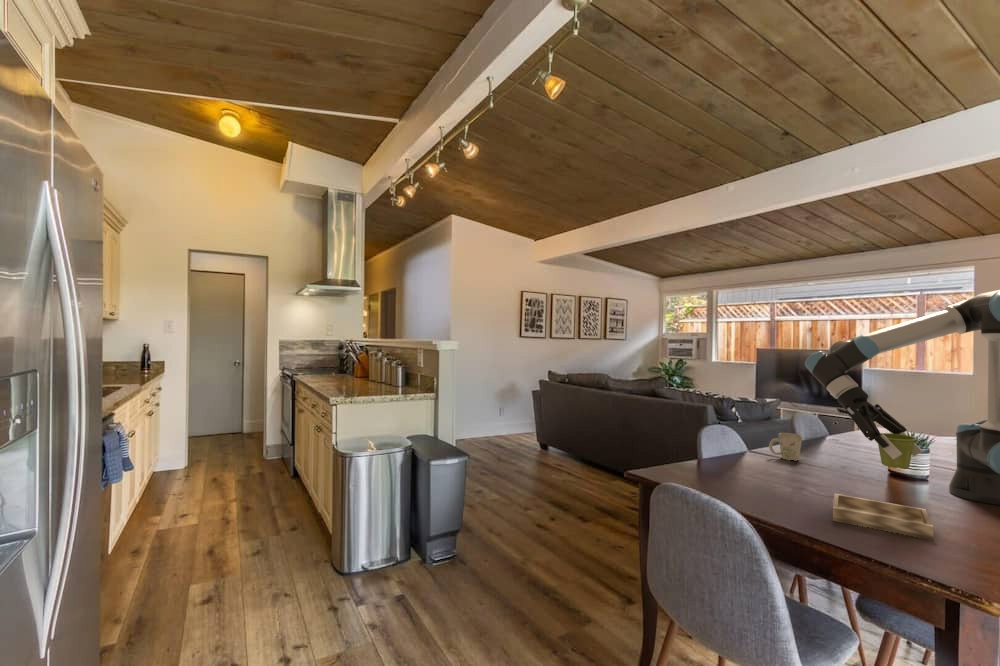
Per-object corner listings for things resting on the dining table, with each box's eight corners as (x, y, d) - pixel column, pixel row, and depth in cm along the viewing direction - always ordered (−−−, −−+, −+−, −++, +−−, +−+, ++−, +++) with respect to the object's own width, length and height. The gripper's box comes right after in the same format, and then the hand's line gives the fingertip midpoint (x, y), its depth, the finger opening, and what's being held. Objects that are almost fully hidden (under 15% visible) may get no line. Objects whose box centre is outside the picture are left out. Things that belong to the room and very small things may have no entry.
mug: (806, 461, 188) (806, 437, 188) (775, 461, 188) (775, 436, 188) (794, 456, 196) (794, 433, 196) (764, 456, 196) (764, 432, 197)
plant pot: (905, 472, 129) (905, 440, 129) (867, 463, 137) (867, 434, 137) (924, 468, 132) (923, 438, 132) (885, 460, 141) (885, 432, 141)
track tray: (925, 522, 125) (925, 509, 125) (933, 541, 113) (933, 526, 113) (834, 505, 137) (834, 493, 138) (832, 520, 126) (832, 507, 126)
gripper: (860, 399, 153) (918, 458, 139) (816, 402, 145) (874, 466, 130) (878, 384, 149) (941, 444, 134) (834, 386, 140) (896, 451, 125)
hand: (908, 455), depth 132 cm, fingers closed on plant pot, 9 cm apart
